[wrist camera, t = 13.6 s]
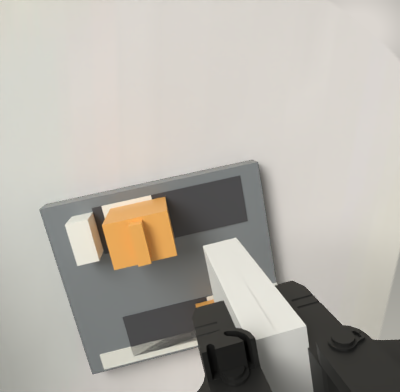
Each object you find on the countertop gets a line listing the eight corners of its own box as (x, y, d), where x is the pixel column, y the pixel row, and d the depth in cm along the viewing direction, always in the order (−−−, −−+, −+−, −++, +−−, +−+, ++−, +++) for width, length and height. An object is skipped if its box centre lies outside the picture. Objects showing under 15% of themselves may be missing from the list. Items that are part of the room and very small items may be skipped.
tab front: (120, 247, 25) (112, 275, 20) (110, 208, 24) (99, 229, 20) (173, 234, 25) (178, 260, 21) (165, 196, 25) (167, 214, 20)
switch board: (95, 361, 29) (87, 394, 25) (45, 204, 25) (29, 217, 22) (276, 315, 30) (292, 339, 27) (252, 159, 27) (266, 165, 23)
